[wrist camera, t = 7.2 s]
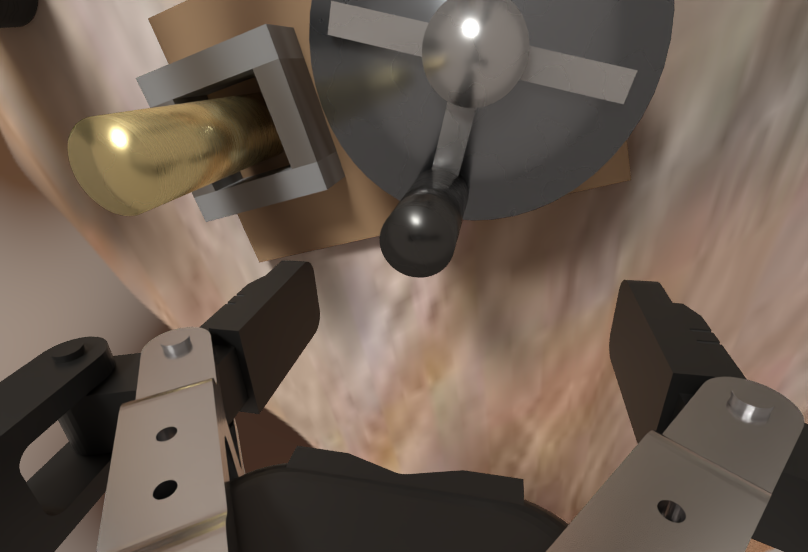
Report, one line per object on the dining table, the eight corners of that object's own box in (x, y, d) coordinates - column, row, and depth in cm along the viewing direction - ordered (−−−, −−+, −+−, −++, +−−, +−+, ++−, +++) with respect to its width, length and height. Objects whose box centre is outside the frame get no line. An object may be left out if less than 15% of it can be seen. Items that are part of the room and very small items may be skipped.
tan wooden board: (589, -178, 18) (609, -234, 15) (626, 175, 24) (647, 196, 20) (160, 20, 25) (104, 14, 22) (266, 256, 31) (235, 282, 27)
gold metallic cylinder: (274, 84, 24) (123, 102, 15) (299, 148, 26) (174, 204, 16) (222, 103, 26) (49, 132, 16) (248, 164, 27) (103, 224, 17)
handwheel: (345, -201, 16) (232, -381, 10) (736, -129, 15) (922, -278, 8) (308, 175, 23) (226, 224, 16) (575, 247, 22) (605, 331, 15)
